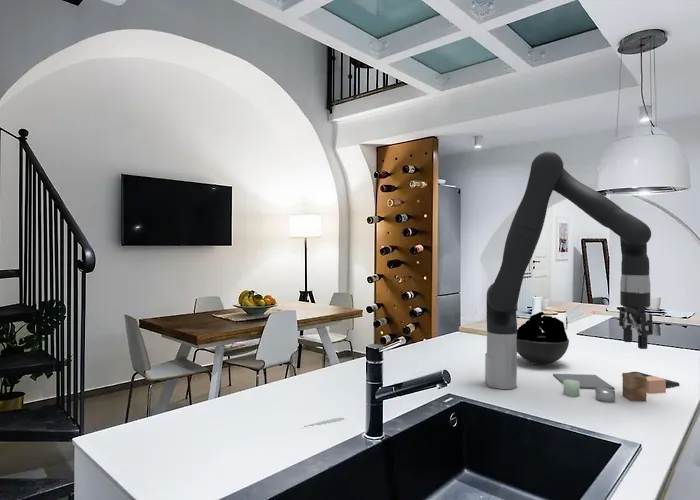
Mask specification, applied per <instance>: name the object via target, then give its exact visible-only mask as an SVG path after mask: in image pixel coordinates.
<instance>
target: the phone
mask: <svg viewBox="0 0 700 500" xmlns="http://www.w3.org/2000/svg"><path fill="white" fill-rule="evenodd" d="M628 373H639V374H641V375H643V376H645V377H649V376H652V375H651V374H647V373H643V372H639V371H631V372H628ZM621 376H622V377H623V373H621ZM661 378H662V377H661ZM662 379H665V380H666V389H672V388H676V387H680V382H677V381H673V380H669V379H666V378H662Z"/></svg>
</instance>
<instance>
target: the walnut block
mask: <svg viewBox="0 0 700 500" xmlns="http://www.w3.org/2000/svg"><path fill="white" fill-rule="evenodd" d="M622 374H623V376H622V388H621V389H622V394H621V395H622V397H623V398H624V399H625V400H627V401H629V402H642V403H643V402H647V393H646V390H647V378H646V377H645V376H643V375H641V374H639V373H629V372H622Z"/></svg>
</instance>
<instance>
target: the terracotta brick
mask: <svg viewBox="0 0 700 500" xmlns="http://www.w3.org/2000/svg"><path fill="white" fill-rule="evenodd" d="M646 378H647V390H646V394H661V393H662V394H663V393H666V391H667V388H666V380H667V379H666V378H663V379H662V377H658V376H657V375H656V376H655V375H651V376H649V377H646ZM665 379H666V380H665Z"/></svg>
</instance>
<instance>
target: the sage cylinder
mask: <svg viewBox="0 0 700 500" xmlns="http://www.w3.org/2000/svg"><path fill="white" fill-rule="evenodd" d="M562 386H563V389H562V390H563V392H562V393H563V396H566V397H570V398H578V397H580V390H581V389H580V382H579V381H576V380H571V379H566V380H563V384H562Z"/></svg>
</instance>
